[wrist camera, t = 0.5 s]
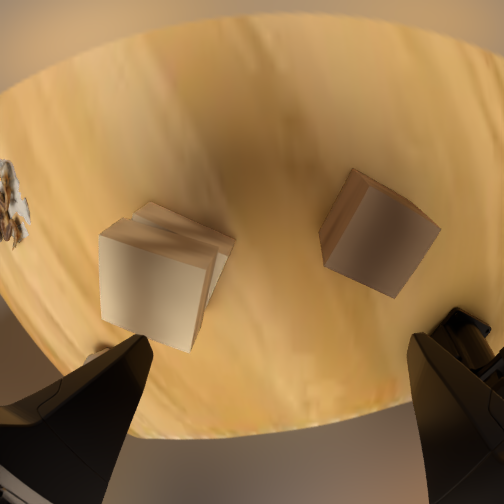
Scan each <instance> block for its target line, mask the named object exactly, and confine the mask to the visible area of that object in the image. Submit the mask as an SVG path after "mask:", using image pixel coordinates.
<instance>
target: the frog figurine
mask: <svg viewBox="0 0 504 504" xmlns="http://www.w3.org/2000/svg"><path fill="white" fill-rule="evenodd" d="M0 178H1V181H0V228H1V230H2V233H3V237H4V240H5V241H9V240H10V237H11V236H13V237H14V243H13V249H14V247H15V248H16V244H17V242H19V243H20V241H21V240H22V239H23V238H26V237H27V236H29V234H28V232H27V229H26V228H25V226H24V222H22V224H20V225H19V226H18V225H16V224H15V221H14V219H12V216H13V215H14V214H15V213H16V212H17V213H18V214H19V215H20V216H23V217H24V219H25V221H26V222H27V223H28V224H29V225H30V224H31V221H30V211H29V208H28V205H27V201H26V198H24V200H23V201H22V199H21V193H20V192H18V190H19V181H18V179H17V177H16V173H15V170H14V166H13V164H12V162H11V161H9V160H5V159H3V160H2V159H0ZM1 241H2V234H1V232H0V242H1ZM13 249H12V251H13Z"/></svg>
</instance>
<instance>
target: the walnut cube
mask: <svg viewBox="0 0 504 504" xmlns="http://www.w3.org/2000/svg"><path fill="white" fill-rule="evenodd" d="M440 231H441V228H439V227H438V226H437V225H436V224H435V223H434V222H433V221H432V220H431V219H430V218H429V217H428V216H427V215H426V214H424V213H423V212H422V211H421V210H420V209H419V208H418V207H417V206H415V205H414V204H413V203H412V202H410V201H409V200H407V199H405V198H404V197H402V196H401V195H399V194H397V193H396V192H394V191H392V190H391V189H389V188H387V187H385V186H384V185H382V184H380V183H378V182H377V181H375V180H373V179H371V178H370V177H368V176H366V175H364V174H362V173H361V172H359V171H357V170H355V169H353V168H352V170H351V172H350V174H349V176H348V178H347V180H346V182H345V184H344V186H343V188H342V190H341V191H340V193H339V195H338V197H337V199H336V201H335V203H334V205H333V207H332V208H331V210H330V212H329V214H328V216H327V218H326V220H325V221H324V223H323V225H322V227H321V229H320V231H319V237H320V243H321V250H322V257H323V263H324V267H327V268H329V269H331V270H333V271H335V272H338V273H340V274H342V275H344V276H346V277H348V278H351V279H353V280H355V281H357V282H359V283H361V284H364V285H366V286H368V287H370V288H372V289H374V290H377V291H379V292H381V293H383V294H385V295H387V296H389V297H392V298H394V299H395V298H396V296H397V295H398V293H399V292H400V291H401V289H402V288H403V287H404V285H405V284H406V282H407V281H408V280H409V278H410V277H411V275H412V274H413V272H414V271H415V269H416V268H417V267H418V265H419V264H420V262H421V261H422V259H423V258H424V256H425V254H426V253H427V251H428V250H429V248H430V247H431V245H432V244H433V242H434V240H435V239H436V237H437V236H438V234H439V232H440Z"/></svg>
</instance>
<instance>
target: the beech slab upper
mask: <svg viewBox="0 0 504 504" xmlns="http://www.w3.org/2000/svg"><path fill="white" fill-rule="evenodd" d="M218 249H219V247H218V246H215V245H212V244H208V243H205V242H202V241H198V240H195V239H192V238H189V237H185V236H182V235H179V234H176V233H172V232H169V231H166V230H162V229H159V228H156V227H153V226H149V225H146V224H143V223H140V222H136V221H133V220H130V219H127V218H121V219H120V220H118V221H117V222H115V223H114V224H113V225H111V226H110V227H109V228H107V229H106V230H104V231H103V232H102V233H100V234H99V284H100V302H101V315H102V320H104V321H107V322H109V323H111V324H114V325H116V326H118V327H121V328H123V329H126V330H128V331H131V332H133V333H136V334H140V335H145V336H146V337H147V338H148V339H151V340H154V341H156V342H159V343H162V344H164V345H167V346H170V347H173V348H176V349H178V350H181V351H184V352H187V353H190V352H191V349H192V347H193V345H194V342H195V340H196V337H197V335H198V333H199V330H200V328H201V325H202V320H203V316H204V311H205V307H206V302H207V297H208V293H209V288H210V284H211V279H212V275H213V271H214V266H215V262H216V258H217V253H218Z"/></svg>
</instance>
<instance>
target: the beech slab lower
mask: <svg viewBox="0 0 504 504" xmlns="http://www.w3.org/2000/svg"><path fill="white" fill-rule="evenodd" d="M132 220H133V221H136V222H140V223H143V224H146V225H149V226H153V227H156V228H159V229H162V230H166V231H169V232H172V233H176V234H179V235H182V236H185V237H189V238H192V239H195V240H198V241H202V242H205V243H208V244H212V245H215V246H218V247H219V249H218V253H217V258H216V262H215V266H214V271H213V275H212V279H211V284H210V288H209V293H208V297H207V302H206V307H207V305H208V302H209V300H210V298H211V295H212V293H213V291H214V288H215V286H216V284H217V282H218V279H219V277H220V275H221V273H222V270H223V268H224V266H225V263H226V261H227V259H228V257H229V254H230V252H231V250H232V248H233V245H234V243H235V241H236V240H235V239H233V238H231V237H228V236H226V235H224V234H222V233H219V232H217V231H215V230H213V229H211V228H208V227H206V226H204V225H202V224H199V223H197V222H195V221H193V220H191V219H188V218H186V217H184V216H182V215H179V214H177V213H175V212H173V211H171V210H168V209H166V208H164V207H162V206H159V205H157V204H155V203H153V202H149V203H147V204H146V205H144V206H143V207H141V208H140V209H138V210H137V211H136V212H134V213H133V216H132ZM206 307H205V309H206Z"/></svg>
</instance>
